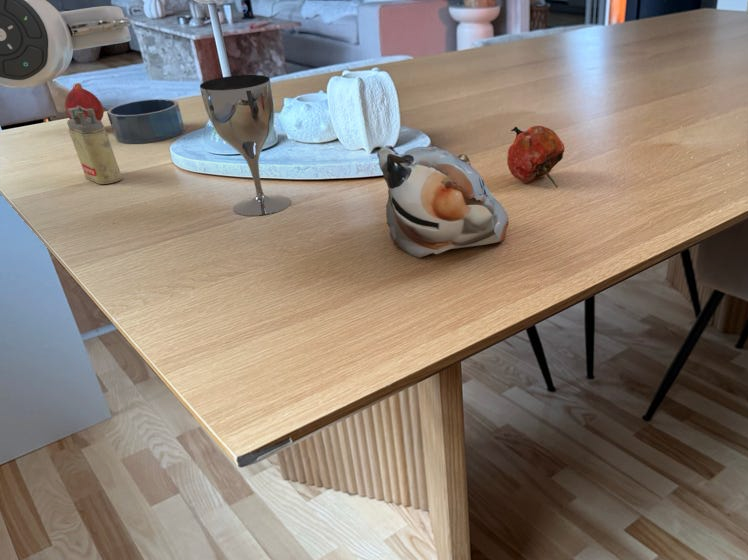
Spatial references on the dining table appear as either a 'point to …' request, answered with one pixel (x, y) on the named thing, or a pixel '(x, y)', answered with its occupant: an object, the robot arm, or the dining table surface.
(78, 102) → the onion
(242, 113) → the wine glass
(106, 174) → the lighter
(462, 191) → the lucky cat figurine
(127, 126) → the bowl
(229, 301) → the dining table surface
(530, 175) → the pomegranate
